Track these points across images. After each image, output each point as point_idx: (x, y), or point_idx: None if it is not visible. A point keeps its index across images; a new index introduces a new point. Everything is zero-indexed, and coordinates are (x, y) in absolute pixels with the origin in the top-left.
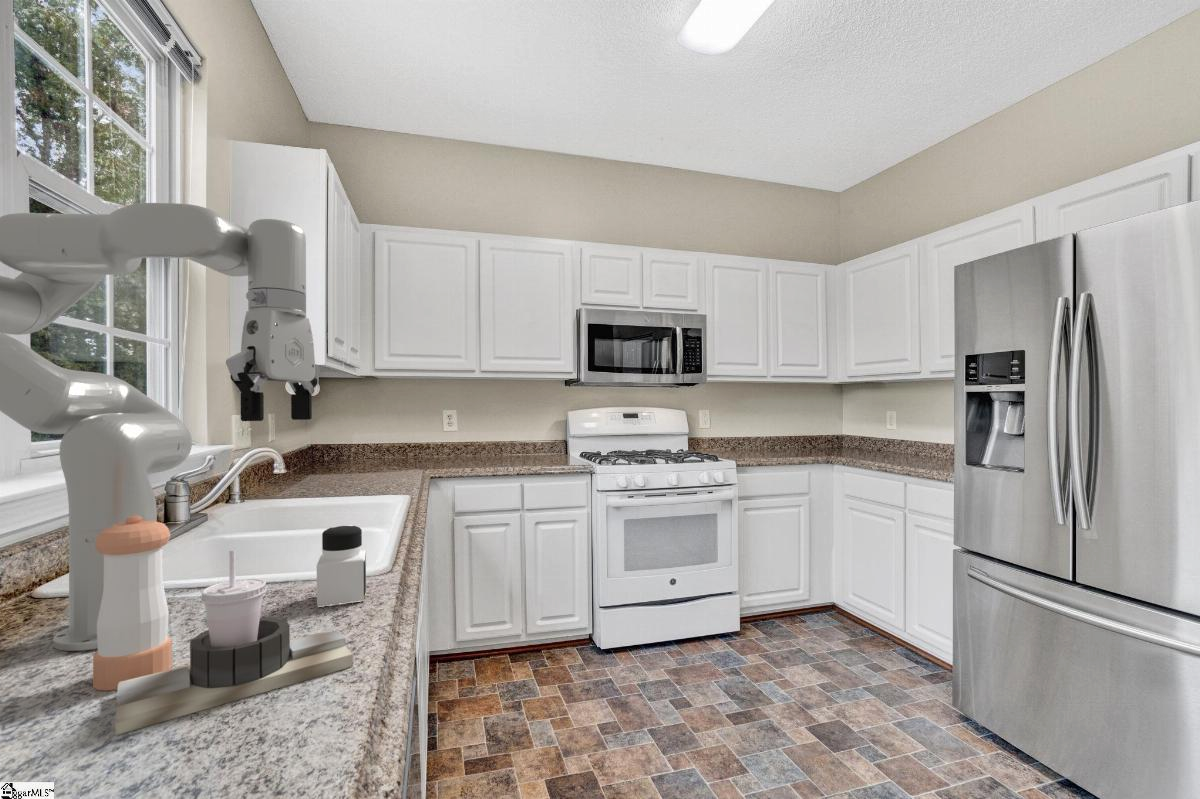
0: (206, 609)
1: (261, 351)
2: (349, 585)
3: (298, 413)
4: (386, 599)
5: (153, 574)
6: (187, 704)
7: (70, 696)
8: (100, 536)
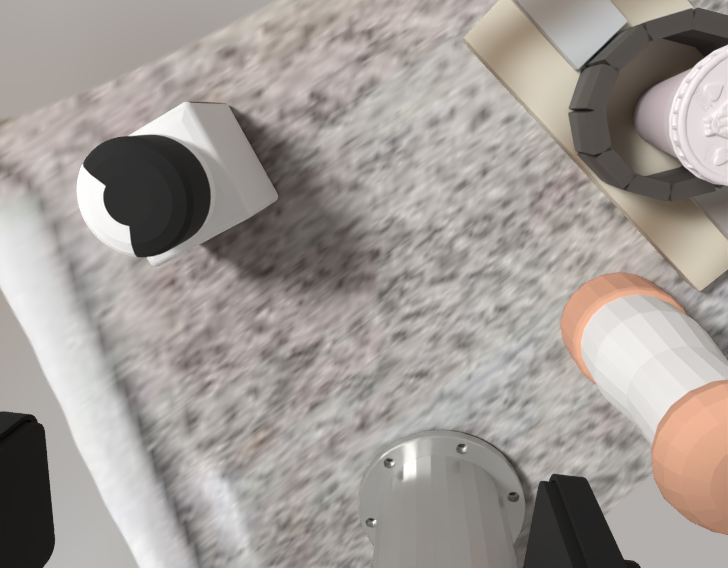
0: None
1: None
2: (231, 135)
3: (23, 524)
4: (199, 54)
5: (704, 358)
6: None
7: None
8: None
